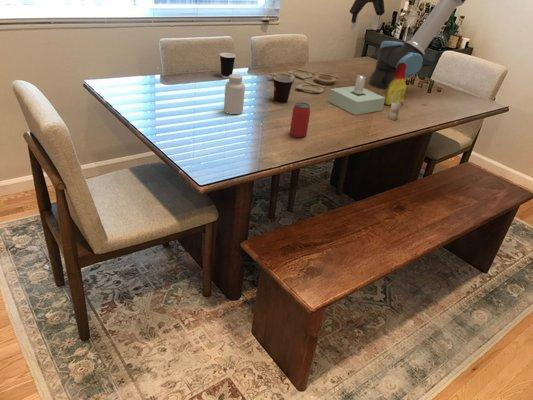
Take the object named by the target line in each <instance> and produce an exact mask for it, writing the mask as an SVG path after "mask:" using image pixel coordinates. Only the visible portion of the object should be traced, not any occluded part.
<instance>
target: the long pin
mask: <svg viewBox="0 0 533 400" xmlns="http://www.w3.org/2000/svg"><path fill="white" fill-rule="evenodd" d="M366 78H367V76H366V75H364V74H357V75H356V79H355V85H354V86H355V88H354V93H353V94H354V95H356V96H362V93H363V88H365V84H366Z"/></svg>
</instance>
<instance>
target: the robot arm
mask: <svg viewBox="0 0 533 400" xmlns="http://www.w3.org/2000/svg"><path fill="white" fill-rule="evenodd" d="M465 2H466V0H438V2H437V3H436V4H435V6H434V7H433V8H432V10H431V11H430V12H429V14H428V15H427V17H426V18H425V19H424V21H423V22H422V24H421V25H420V26H419V28H418V29H417V30H416V32H415V33H414V35H413V36H412V37H411V38H410V39H409V40H407V41H405V42H402V41H393V40H384V41H382V42H381V43H380V47H379V51H378V55H377V60H376V63H375V68H374V71H373V72H372V73H371V76H370V77H369V80H368V84H369V85H370V86H372V87H375V88H378V89H381V90H386V88H387V86H388V84H389V83H390V82H391V81H392V79H393V77H394V74H395V71H396V68H397V66H398V64H399V63H405V64H406V70H405V74H404V77H410V76H413V75H416V74H417V73H418V72H419V71H420V70H421V69H422V67H423V62H424V59H423V58H424V57H425V50H426V49H427V47H429V45H430V43H431V42H432V41H433V40H434V38H435V37H436V36H437V34H438V33H439V31H440V30H441V29H442V27H443V26H444V25H445V23H446V22H447V20H448V19H449V18H450V16H452V15H453V13H454V11H455V10H456V9H457V7H460V6H462V5H463V4H464V3H465ZM368 3H372V6H373V8H374V11H375V13H374V15H373V19H372V23H371V24H372V25H371V30H374V31H378V30H377V29H378V27H379V26H378V24H379V22H380V18H381V16H383V15H384V14H385V2H384V0H354V2H353V4H352V6H351V8H350V9H349V13H350V14H351V15H352V18H351V25H350V30H351V31H355V32H356V31H357V26H358V21H359V17H360V15H359V13H361V11H362V9H363V8H364V7H365V6H366V5H367V4H368Z"/></svg>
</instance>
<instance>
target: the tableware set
mask: <svg viewBox="0 0 533 400" xmlns="http://www.w3.org/2000/svg"><path fill="white" fill-rule="evenodd" d="M314 74H315V71H313V70H304V69H300V68H295V67H293V68H292V70H289V71H287V72H283V71H279V72H278V71H276V72H268V75H269V76H272V77H273V78H274V77H276V76H285V77H289V78H291V79H293V80H294V79H295V78H298V79H299V78H300V79H302V80H305V79H310V78H312V77H313V75H314ZM313 78H314V80H316V81H317V82H318V83H314V82H313V81H308V80H305V81H304V83H299V84H297V85H295V87H294V89H297V90H299V91H302V92H304V93H309V94H322V93H323V92H324V91H325V89H326V86H328V85H331V84H332V83H335V82H336V81H337V79H340V78H341V77H340V76H338V75H332V74H328V73H325V72H322V71H319V72H318V74H316V75H314V77H313ZM324 85H326V86H324Z"/></svg>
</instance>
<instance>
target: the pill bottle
mask: <svg viewBox="0 0 533 400" xmlns="http://www.w3.org/2000/svg"><path fill="white" fill-rule="evenodd" d="M245 89H246V87H245V84H244V82H243V76H242V75H241V74H235V73H232V75H229V78H228V80H227V82H226V83H225V86H224V98H223V99H224V101H223V102H224V103H223V111H224V112H225V111H226V112H228V113H231V114H239V115H241V114H243V110H244V102H245ZM226 112H225V113H226ZM228 113H227V114H228ZM240 113H241V114H240ZM231 114H230V115H231Z"/></svg>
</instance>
